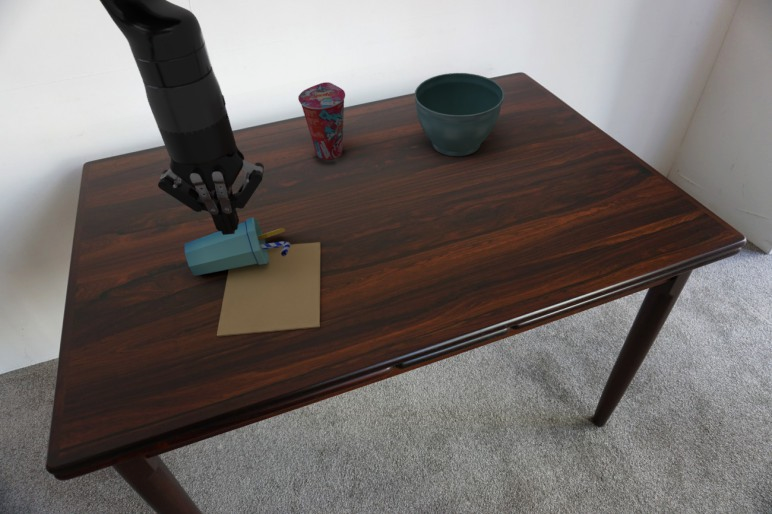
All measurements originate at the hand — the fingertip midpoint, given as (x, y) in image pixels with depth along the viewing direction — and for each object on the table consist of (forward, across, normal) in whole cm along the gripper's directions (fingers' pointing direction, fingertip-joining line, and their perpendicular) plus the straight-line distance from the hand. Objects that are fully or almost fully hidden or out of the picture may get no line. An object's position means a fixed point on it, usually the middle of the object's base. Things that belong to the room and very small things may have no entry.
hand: (229, 230), depth 69 cm
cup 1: (+8, -8, +3) cm, 12 cm away
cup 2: (+12, +12, +35) cm, 39 cm away
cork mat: (+12, +4, 0) cm, 12 cm away
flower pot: (+12, +37, +34) cm, 52 cm away
